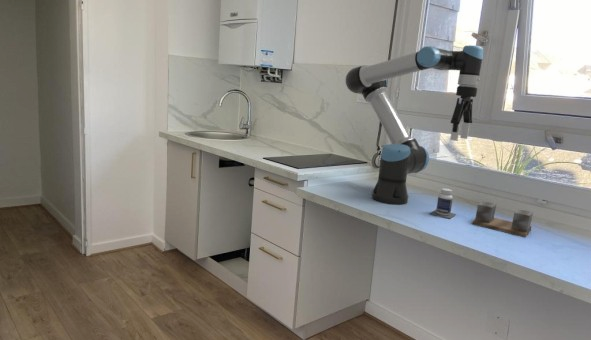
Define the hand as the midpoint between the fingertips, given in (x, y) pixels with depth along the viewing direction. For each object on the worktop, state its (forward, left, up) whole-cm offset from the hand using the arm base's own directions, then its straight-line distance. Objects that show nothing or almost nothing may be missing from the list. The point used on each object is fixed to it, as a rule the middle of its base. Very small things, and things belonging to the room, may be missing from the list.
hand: (458, 139), depth 177 cm
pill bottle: (+2, -13, -28) cm, 31 cm away
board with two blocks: (+23, -10, -29) cm, 38 cm away
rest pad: (+2, -13, -29) cm, 32 cm away
